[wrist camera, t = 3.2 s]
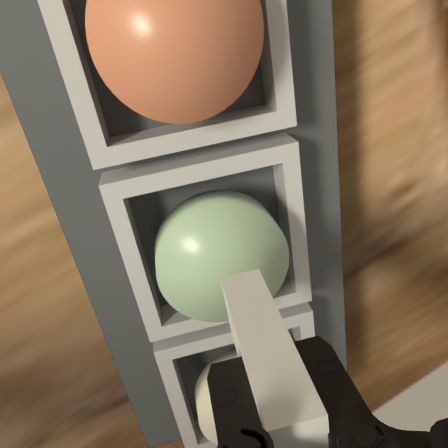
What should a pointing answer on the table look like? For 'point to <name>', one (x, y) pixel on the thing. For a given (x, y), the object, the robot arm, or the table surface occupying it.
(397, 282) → the table surface
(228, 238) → the sage button
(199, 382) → the cream button
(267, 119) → the button panel
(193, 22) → the terracotta button
